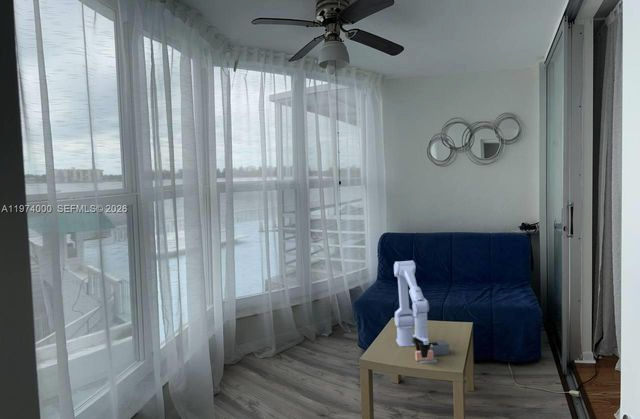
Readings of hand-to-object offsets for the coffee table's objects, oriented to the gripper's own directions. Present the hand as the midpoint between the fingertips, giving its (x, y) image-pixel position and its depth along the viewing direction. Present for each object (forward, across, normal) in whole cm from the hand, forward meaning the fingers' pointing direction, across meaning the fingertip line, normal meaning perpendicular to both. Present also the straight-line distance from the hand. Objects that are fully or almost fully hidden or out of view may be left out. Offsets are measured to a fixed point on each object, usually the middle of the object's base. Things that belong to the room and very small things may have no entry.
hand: (421, 354), depth 202 cm
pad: (+3, 0, +2) cm, 4 cm away
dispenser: (+3, -7, +10) cm, 12 cm away
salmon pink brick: (+3, 0, +1) cm, 3 cm away
